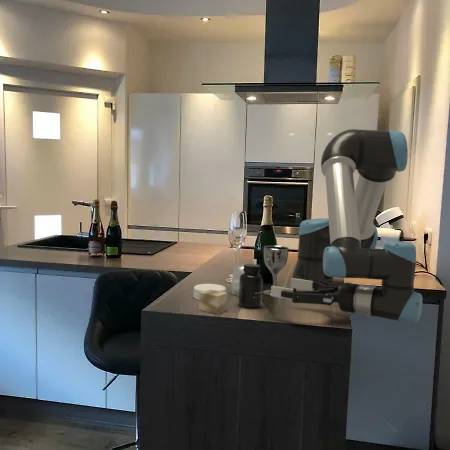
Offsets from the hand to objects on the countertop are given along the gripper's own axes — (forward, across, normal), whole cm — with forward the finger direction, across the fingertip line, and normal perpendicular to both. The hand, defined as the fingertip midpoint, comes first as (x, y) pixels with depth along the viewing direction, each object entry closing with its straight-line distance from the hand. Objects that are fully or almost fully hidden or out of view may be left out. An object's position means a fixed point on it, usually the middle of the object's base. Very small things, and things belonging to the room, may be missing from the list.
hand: (281, 286), depth 138 cm
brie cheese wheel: (+24, +1, -8) cm, 25 cm away
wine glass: (+11, +19, -7) cm, 23 cm away
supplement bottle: (+10, 0, -7) cm, 12 cm away
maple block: (+16, -10, -7) cm, 20 cm away
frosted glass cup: (+18, +12, -7) cm, 23 cm away
